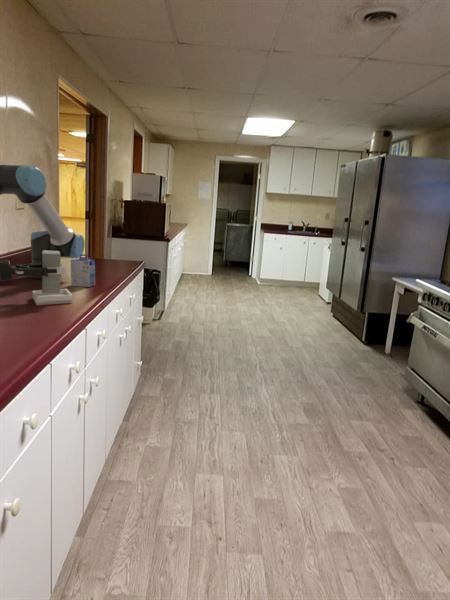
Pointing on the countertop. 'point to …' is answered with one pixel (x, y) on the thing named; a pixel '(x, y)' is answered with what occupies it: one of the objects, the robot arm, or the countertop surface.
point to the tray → (52, 297)
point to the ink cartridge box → (82, 272)
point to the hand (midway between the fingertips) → (63, 268)
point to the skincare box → (53, 280)
